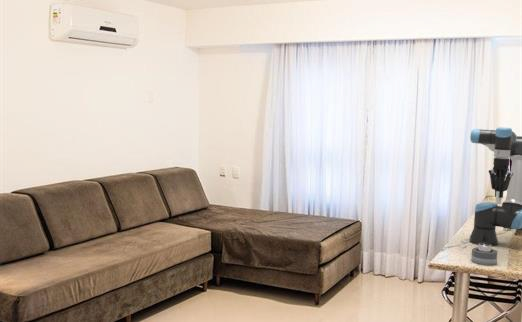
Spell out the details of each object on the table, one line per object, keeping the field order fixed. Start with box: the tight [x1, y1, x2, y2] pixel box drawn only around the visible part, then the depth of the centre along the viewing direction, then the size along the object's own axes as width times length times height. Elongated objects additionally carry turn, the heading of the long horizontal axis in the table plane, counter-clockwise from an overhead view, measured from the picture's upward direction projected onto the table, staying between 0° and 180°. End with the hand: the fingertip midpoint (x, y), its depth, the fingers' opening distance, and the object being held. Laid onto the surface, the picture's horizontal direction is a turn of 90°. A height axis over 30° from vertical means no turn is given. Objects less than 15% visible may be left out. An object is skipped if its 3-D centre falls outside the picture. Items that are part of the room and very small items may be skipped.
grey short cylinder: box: [470, 247, 498, 267], centre depth 292 cm, size 12×12×6 cm
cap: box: [477, 242, 492, 252], centre depth 292 cm, size 6×6×6 cm
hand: (498, 203), depth 298 cm, fingers closed
